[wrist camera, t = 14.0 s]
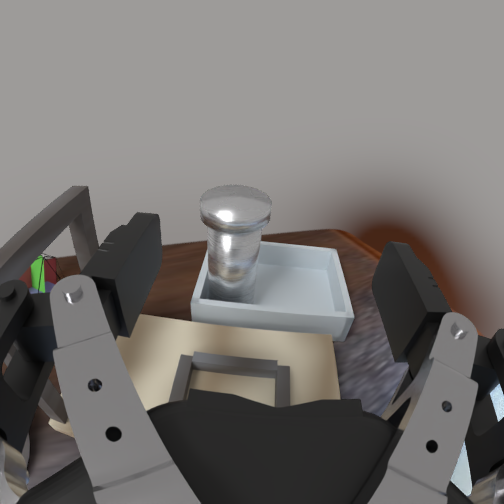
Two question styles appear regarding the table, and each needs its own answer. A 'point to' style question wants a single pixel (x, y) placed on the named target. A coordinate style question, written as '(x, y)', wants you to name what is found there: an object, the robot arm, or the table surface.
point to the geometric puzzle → (41, 275)
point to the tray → (285, 294)
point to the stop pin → (234, 240)
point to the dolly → (180, 336)
